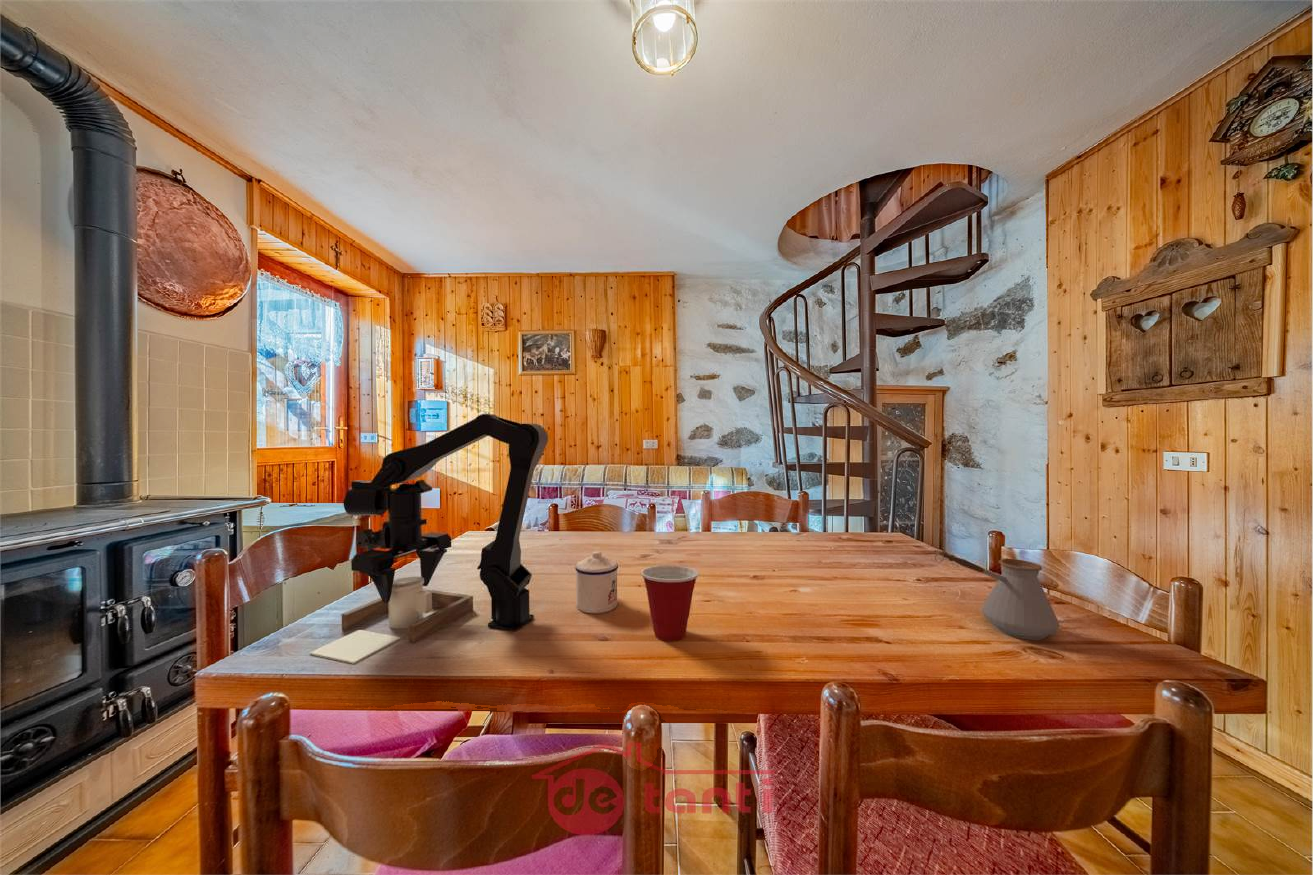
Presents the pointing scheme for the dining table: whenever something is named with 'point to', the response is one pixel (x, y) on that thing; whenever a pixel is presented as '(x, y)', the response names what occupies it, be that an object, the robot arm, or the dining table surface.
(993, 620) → the coffee pot
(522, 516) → the robot arm
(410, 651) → the dining table surface
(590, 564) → the teacup with lid
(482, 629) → the dining table surface
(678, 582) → the plastic cup
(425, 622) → the cradle
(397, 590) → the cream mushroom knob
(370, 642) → the pad
